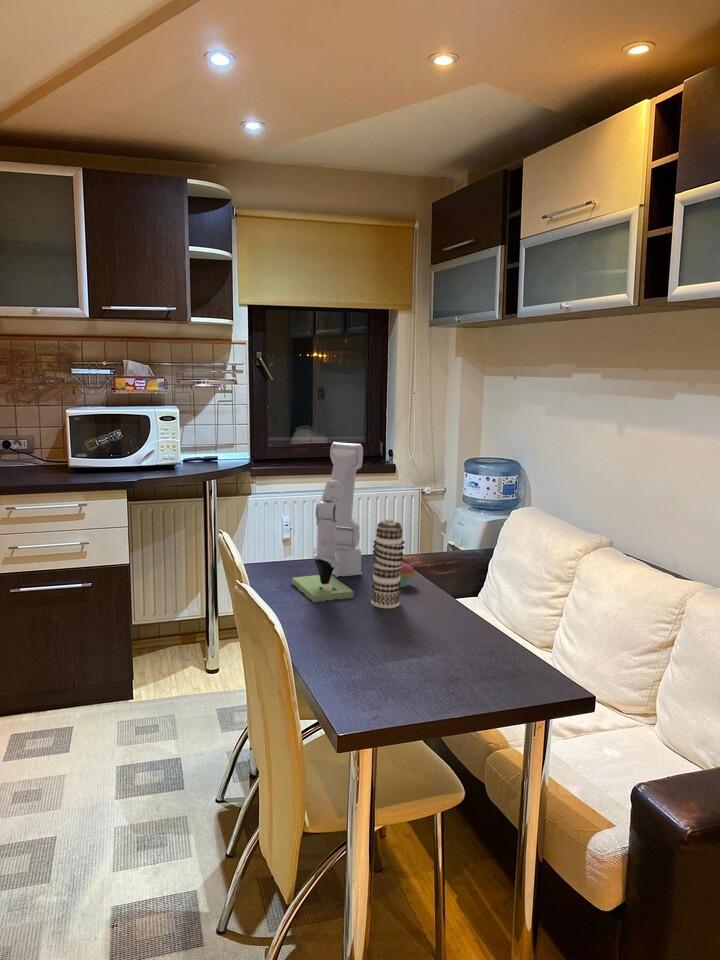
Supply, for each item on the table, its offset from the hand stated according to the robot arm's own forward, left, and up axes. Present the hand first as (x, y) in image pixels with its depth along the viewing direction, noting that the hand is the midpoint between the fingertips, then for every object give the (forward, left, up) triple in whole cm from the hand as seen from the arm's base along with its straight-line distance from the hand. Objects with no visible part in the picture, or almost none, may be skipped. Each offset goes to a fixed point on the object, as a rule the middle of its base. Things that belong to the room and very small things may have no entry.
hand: (324, 583), depth 220 cm
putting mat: (0, -2, -3) cm, 4 cm away
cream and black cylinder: (-14, +14, -3) cm, 20 cm away
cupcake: (-27, 0, -3) cm, 27 cm away
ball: (0, +3, -2) cm, 4 cm away
